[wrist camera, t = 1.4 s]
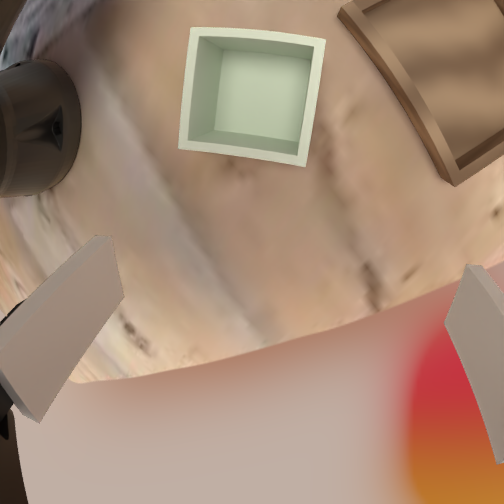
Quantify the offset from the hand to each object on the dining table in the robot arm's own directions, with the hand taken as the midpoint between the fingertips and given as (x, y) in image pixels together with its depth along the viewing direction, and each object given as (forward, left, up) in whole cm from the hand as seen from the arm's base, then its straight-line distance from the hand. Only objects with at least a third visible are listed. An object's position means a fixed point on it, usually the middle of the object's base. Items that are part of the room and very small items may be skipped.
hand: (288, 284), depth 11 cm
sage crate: (-7, +2, -17) cm, 18 cm away
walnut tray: (-1, +19, -17) cm, 25 cm away
